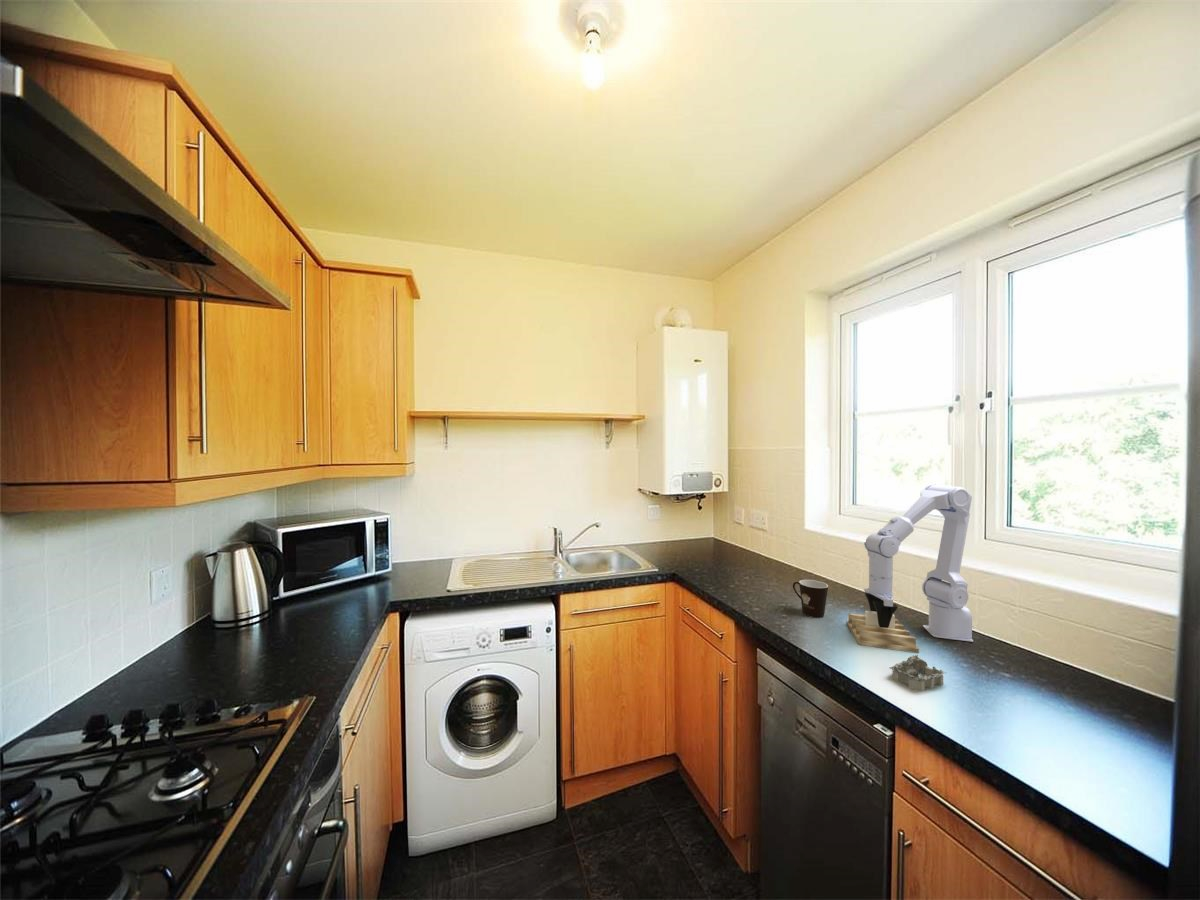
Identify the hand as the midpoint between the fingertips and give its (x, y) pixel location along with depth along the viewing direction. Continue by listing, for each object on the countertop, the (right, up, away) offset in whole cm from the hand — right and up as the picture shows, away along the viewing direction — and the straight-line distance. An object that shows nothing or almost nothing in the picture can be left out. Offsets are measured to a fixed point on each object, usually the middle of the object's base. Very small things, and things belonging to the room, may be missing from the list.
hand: (879, 622), depth 122 cm
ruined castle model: (-6, -5, -23) cm, 24 cm away
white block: (0, -3, 0) cm, 3 cm away
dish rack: (0, -4, 0) cm, 4 cm away
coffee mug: (-11, -4, +18) cm, 22 cm away
